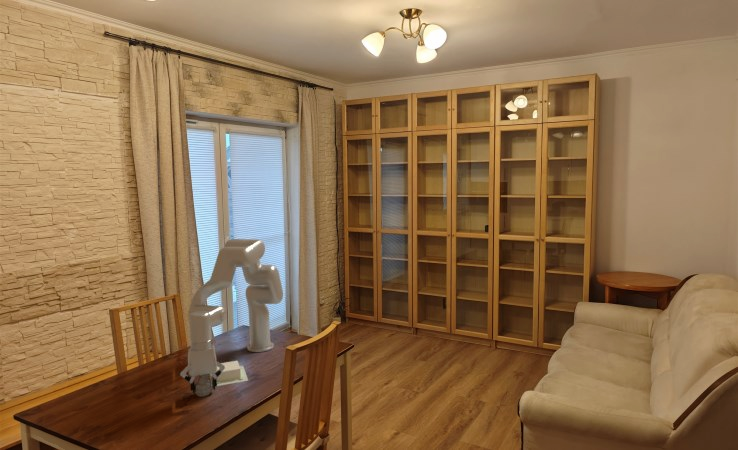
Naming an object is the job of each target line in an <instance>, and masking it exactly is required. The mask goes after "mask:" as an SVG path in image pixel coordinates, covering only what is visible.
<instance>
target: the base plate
mask: <svg viewBox="0 0 738 450" xmlns="http://www.w3.org/2000/svg"><path fill="white" fill-rule="evenodd" d="M239 366H240V372H241V377H240V378H239V379H233V380H227V381H221V382H220V381H217V386H216V387H220V386H225V385H230V384H236V383H237V384H238V383H241V382H247V381H248V382H249V379H248V376H247V373H246V370H245V367H244V365H239ZM210 375H211V376H210ZM211 377H212V374H209V380H211ZM212 383H213V382H212V381H211V387H212Z"/></svg>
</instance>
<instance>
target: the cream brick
mask: <svg viewBox="0 0 738 450" xmlns="http://www.w3.org/2000/svg"><path fill="white" fill-rule="evenodd" d="M221 364H222V365H224V366H225V369H224V370H223V371H222V372H221V374H220V375H219V376H218V377H217V381H220V382H221V381H227V380H233V379H239V378H240V377H241V372H240V366H241V365H240V364H239V361H238V360H232V361H226V362H221ZM219 369H220V368H219V367H218V366H217V371H218V370H219ZM217 371H216V372H217Z"/></svg>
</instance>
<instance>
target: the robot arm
mask: <svg viewBox="0 0 738 450" xmlns="http://www.w3.org/2000/svg"><path fill="white" fill-rule="evenodd" d="M265 251H266V246H265V243H264V242H263V241H262V240H261V239H257V238H256V239H255V238H254V239H252V238H251V239H249V238H229V240H228V239H227V240H226V242H225V244H224V247H222V248H220V250H219V252H218V254H217V257H216V260H215V263H214V266H213V269H212V273H211V276H210V278H209V280H207V281H206V282H205V283H204V284H203V285H201V286H200V288H199V289H198V290H196V292H195V293H194V295H193V296H192V298H191V302H190V305H189V307H188V312H187V317H188V323H189V324H188V325H189V326H188V327H189V341H190V347H189V348H188V351H187V366H185V368H184V369H182V371H181V372H180V374H179V375H180V377H182V378H183V379H185V380H186V381H187V382H188V383H190V391H192V394H196V392H195V379H196V377H198V376H200V375H205V374H209V375H210V374H212V376H213V378H212V382H213V387H212V390H214V391H216V387H218V386H217V377H218V376H219V375H220V374H221V372H222V371H223V370H224V369H225V366H224V365H222V364H221V363H222V362H221V363H220V361H217V354H216V348H215V345H214V344H216V343H217V339H214V338H212V328H215V327H219V326H221V325H222V324H223V323H224V322H225V321H226V319H227V317H228V316H227V315H228V314H227V313H228V312H227V310H226V308H225V307H223V306H220V305H208V304H207V305H206V304H205V302H206V301H207V299H209V298H210V297H211V296H212V295H215V294H216V293H218V292H221V291H224V290H226V289H227V288H230V286H231V285H233V284H232V283H233V280H234V277H235V273H236V269H237V268H241V269H242V270H241V271H242V273H243V277H244V281H245V282H246V284H248V286H247V287H246V289H245V298H246V302H247V308H248V326H249V327H248V328H249V343H248V344H247V345H246V350H247V351H249V352H251V353H262V352H267V351H271V350H272V349H273V348H274V346H275V344H274V342H272V341H271V328H270V323H271V322H270V311H269V307H268V306H267V305H278V304H280V303H281V302H282V301H283V298H284V291H283V286H282V281H281V276H280V271H279V269H278V268H277V267H276V266H275V265H272V264H263V263H261V261H260V260H261V259H262V258H263V256H264V255H265V253H266V252H265ZM217 366H218V367H219V368H220V369H219V370H218V371H217ZM216 371H217V372H216ZM187 373H188V374H187Z"/></svg>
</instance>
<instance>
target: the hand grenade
mask: <svg viewBox="0 0 738 450" xmlns="http://www.w3.org/2000/svg"><path fill="white" fill-rule="evenodd" d="M210 376H211V375H210V374H205V375H199V377H198V379H197V381H196V382H194V384H195V394H196V396H197V397H200V398H202V397H203V398H204V397H207V396H210V394H211V393H213V383H212V386H211V381H212V378H213V376H212V377H211V380H210V379H208V378H207V377H210Z"/></svg>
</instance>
